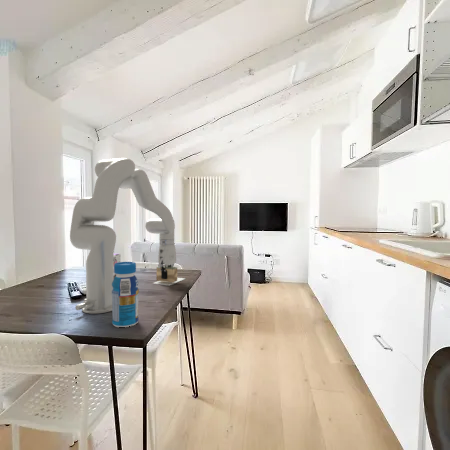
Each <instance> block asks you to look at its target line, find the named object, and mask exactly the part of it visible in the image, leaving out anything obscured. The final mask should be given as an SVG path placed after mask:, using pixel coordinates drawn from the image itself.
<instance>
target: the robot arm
mask: <svg viewBox="0 0 450 450" xmlns="http://www.w3.org/2000/svg"><path fill="white" fill-rule="evenodd" d="M94 171H95V172H94V173H95V175H96V176H97V179H96V181H95V182H94V183H95V184H94V188H93V193H92V196H86V197H82V198H80V199H78V200H77V202H76V203H75V204H74V207H73V211H72V218H71V224H70V231H69V240H70V244H71V245H72V246H73V247H74V248H76V249H79V250H87V251H89V253H88V256H87V258H86V261H85V279H86V281H85V282H86V285H85V286H86V298H84V299H83V301H84V302H82V303H79V304H76V305H75V307H74V308H75V310H76V311H81V312H83V313H85V314H92V315H93V314H94V315H95V314H96V315H97V314H104V313H109V312H112V290H113V287H112V282H113V280H114V270H113V257H114V254H115V247H116V243H117V234H116V232H115V230H114V229H113V228H112V227H111V226H108V225H105V224H95V222H98V223H101V222H102V223H106V222H110V221H112V220H113V219H114V217H115V215H116V209H117V202H118V195H119V191H120V189H123V190H126V189H128V190H129V189H131V190H132V192H133V195H134V197H135V200H136V201H137V204H138V205H139V206H140V207H141V208H142V209H145V210H147V211H149V212H152V213H153V214H155V215H156V216H158V218H157V217H154V218H153V217H152V218H150V219H148V220H147V221H146V223H145V230H146V231H147V232H148V233H150V234H157V235H158V234H159V243H158V244H159V247H158V255H157V257H158V258H157V259H158V264H157V267H159V268H160V269H161V278H162V279H167V271H166V270H167V266H169V267H175V264H176V262H177V252H176V251H177V250H176V244H175V228H176V222H175V220H174V219H175V218H174V217H173V215H172V211H171V210H170V209H169V207H167V206H166V204H164V203H163V202H162V201H161V200H160V199H158V198H157V196H156V194H155V190H153V187H152V184H151V182H150V179H149V176H148V175H147V172H146V171H145V170H143V169H141V168H140V169H139V168H136V164H135V161H133V160H132V159H130V158H126V157H121V158H120V157H119V158H112V159H111V158H110V159H102V160H99V161H98V162H97V163H96V164H95V166H94ZM163 266H165V268H164V267H163Z"/></svg>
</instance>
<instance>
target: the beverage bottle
mask: <svg viewBox="0 0 450 450" xmlns="http://www.w3.org/2000/svg"><path fill="white" fill-rule="evenodd" d="M136 272H137V264H136V262H134V261H120V262H118V263H115V264H114V273H115V274H116V277H115V278H114V280H113V282H112V287H113V290H112V311H111V313H112V323H111V325H113V326H114V327H115V328H119V327H125V328H130V327H133V326H136V325H137V324H138V323H139V295H140V291H139V290H140V289H139V287H138V285H139V279H138V278H137V276H136V275H135V274H136ZM129 326H130V327H129Z"/></svg>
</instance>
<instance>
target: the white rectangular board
mask: <svg viewBox="0 0 450 450" xmlns="http://www.w3.org/2000/svg"><path fill="white" fill-rule="evenodd" d="M184 280H186V278H185V277H184V278H183V277H177V281H175V282H165V281H157V280H156V281H155V282H152V284H153V285H161V286H172V285H175V284H176V283H177V284H178V283H179V282H182V281H184Z"/></svg>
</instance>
